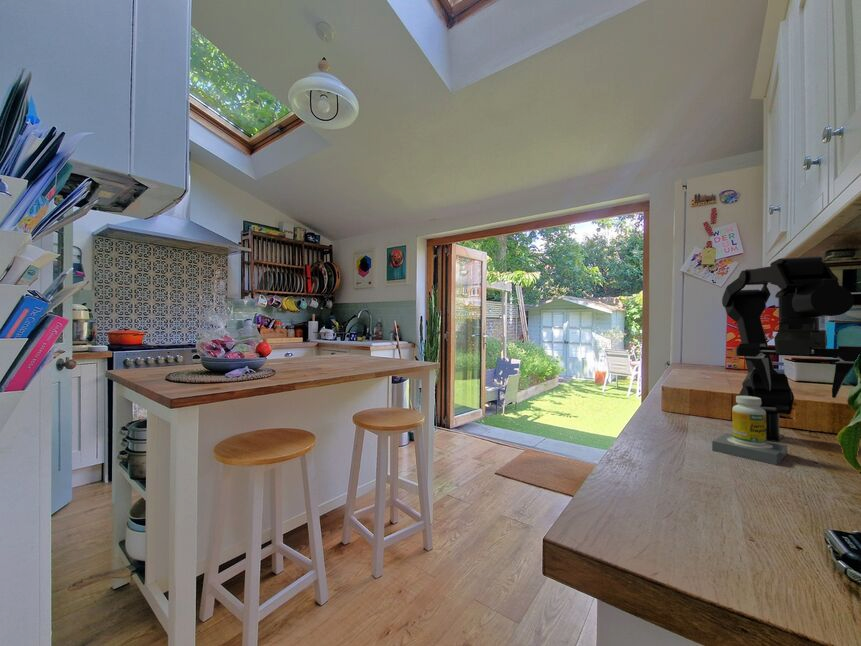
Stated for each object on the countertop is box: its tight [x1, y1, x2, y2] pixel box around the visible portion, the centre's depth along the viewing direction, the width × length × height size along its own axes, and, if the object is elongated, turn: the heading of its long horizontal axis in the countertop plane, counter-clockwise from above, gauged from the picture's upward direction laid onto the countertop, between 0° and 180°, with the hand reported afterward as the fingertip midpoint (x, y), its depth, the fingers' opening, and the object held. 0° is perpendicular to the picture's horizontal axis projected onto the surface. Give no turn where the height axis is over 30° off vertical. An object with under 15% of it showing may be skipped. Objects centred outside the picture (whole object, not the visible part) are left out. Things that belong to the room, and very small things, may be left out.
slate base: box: [711, 432, 788, 466], centre depth 74 cm, size 10×10×2 cm
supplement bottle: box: [731, 395, 767, 446], centre depth 74 cm, size 5×5×10 cm
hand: (799, 394), depth 71 cm, fingers open, 9 cm apart
